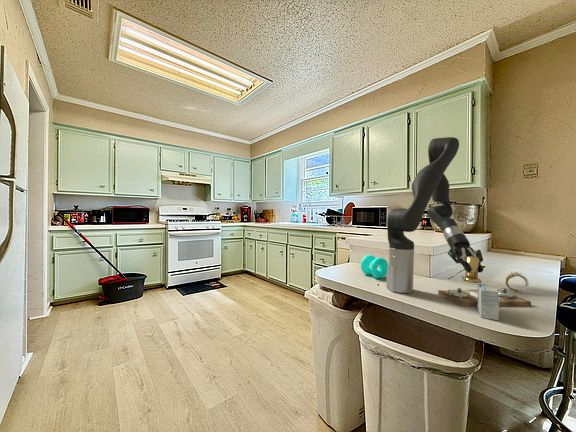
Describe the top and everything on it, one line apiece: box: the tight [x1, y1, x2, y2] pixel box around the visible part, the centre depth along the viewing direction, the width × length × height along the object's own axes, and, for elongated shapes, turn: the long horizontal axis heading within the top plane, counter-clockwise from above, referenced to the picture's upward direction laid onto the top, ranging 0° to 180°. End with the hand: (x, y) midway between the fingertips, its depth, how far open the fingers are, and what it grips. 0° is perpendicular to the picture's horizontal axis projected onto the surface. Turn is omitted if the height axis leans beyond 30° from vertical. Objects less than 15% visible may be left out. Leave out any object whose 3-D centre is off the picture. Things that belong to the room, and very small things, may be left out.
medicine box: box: [477, 283, 500, 321], centre depth 78 cm, size 8×4×9 cm, turn 148°
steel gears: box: [448, 287, 519, 299], centre depth 92 cm, size 24×7×3 cm, turn 92°
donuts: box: [360, 254, 389, 279], centre depth 123 cm, size 10×10×10 cm
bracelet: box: [504, 271, 530, 293], centre depth 101 cm, size 7×3×8 cm, turn 56°
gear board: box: [437, 289, 532, 307], centre depth 92 cm, size 25×12×2 cm, turn 92°
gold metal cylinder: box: [461, 256, 482, 284], centre depth 103 cm, size 7×6×10 cm
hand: (475, 271), depth 101 cm, fingers closed on gold metal cylinder, 4 cm apart
